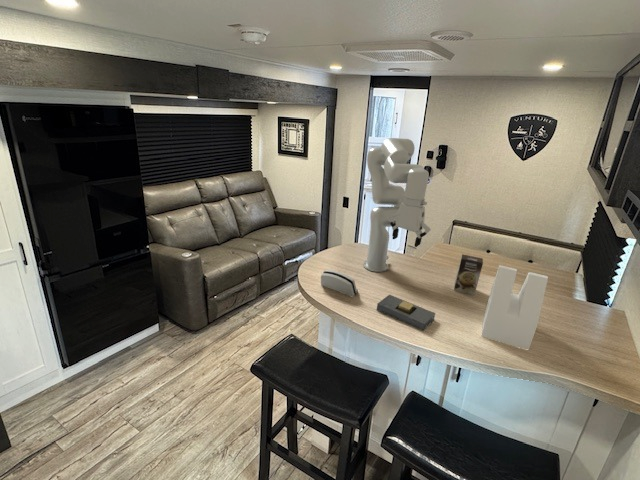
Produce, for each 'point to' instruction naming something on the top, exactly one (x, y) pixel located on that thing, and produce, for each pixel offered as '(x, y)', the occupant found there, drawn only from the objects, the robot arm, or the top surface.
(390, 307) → the grey square hole block
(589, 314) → the top surface
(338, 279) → the hinge
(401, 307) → the brass cube
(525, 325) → the white slotted block
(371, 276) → the top surface
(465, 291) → the coffee box
